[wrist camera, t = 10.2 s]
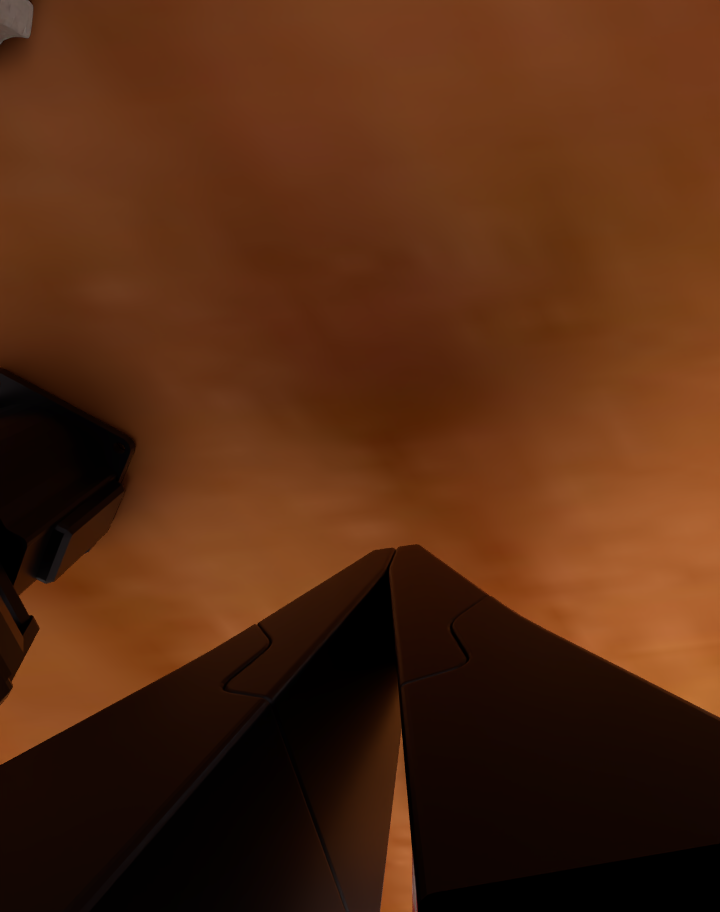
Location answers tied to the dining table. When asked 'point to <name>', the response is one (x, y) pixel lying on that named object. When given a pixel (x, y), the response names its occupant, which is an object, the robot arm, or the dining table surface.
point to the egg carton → (15, 19)
